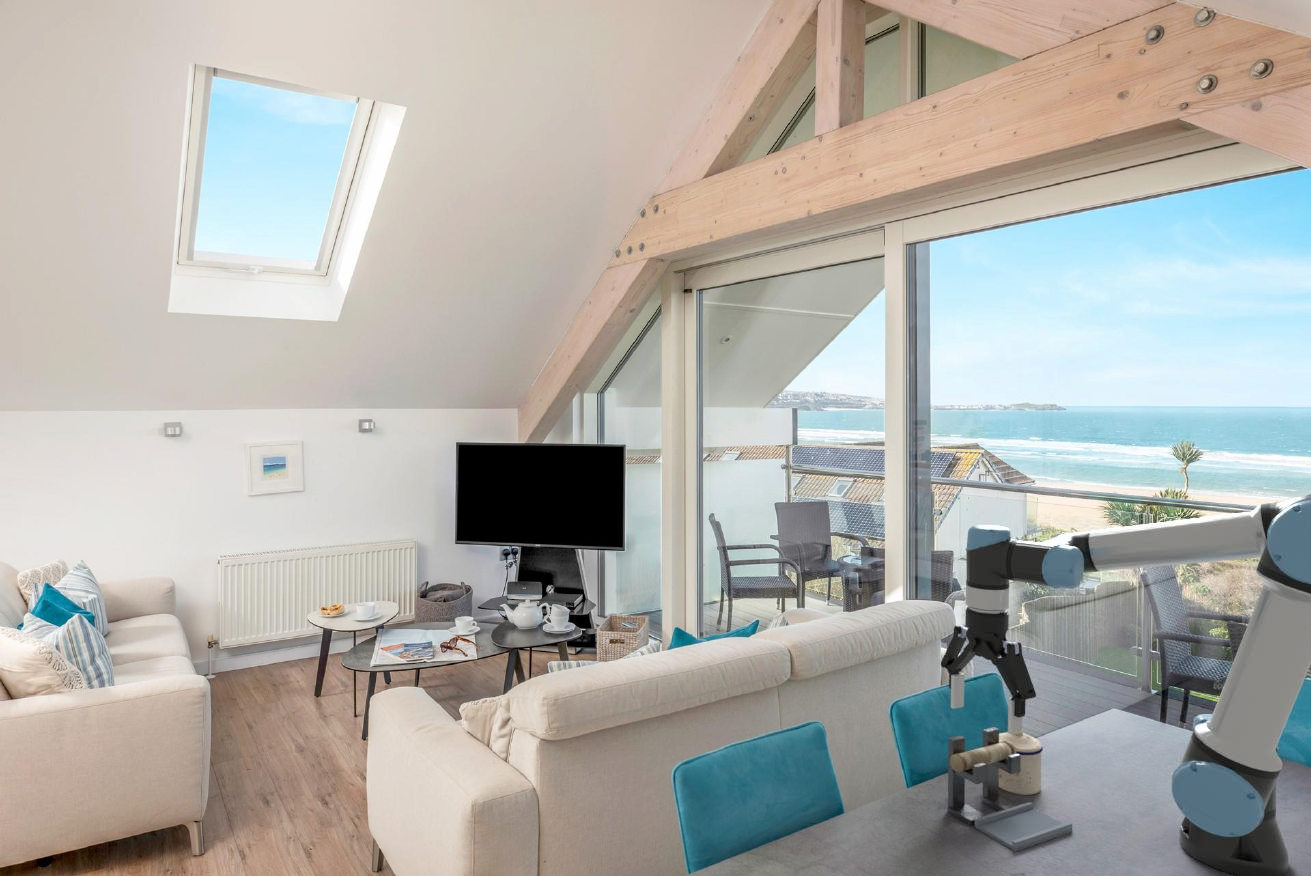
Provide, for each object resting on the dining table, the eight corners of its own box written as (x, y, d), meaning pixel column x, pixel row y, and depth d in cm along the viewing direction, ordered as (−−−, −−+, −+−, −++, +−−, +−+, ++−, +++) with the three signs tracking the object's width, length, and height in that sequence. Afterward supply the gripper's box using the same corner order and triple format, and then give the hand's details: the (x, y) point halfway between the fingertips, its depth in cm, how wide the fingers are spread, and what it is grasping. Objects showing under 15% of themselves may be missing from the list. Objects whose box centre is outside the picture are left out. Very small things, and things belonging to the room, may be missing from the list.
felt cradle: (1072, 831, 146) (1072, 823, 146) (1015, 851, 140) (1015, 842, 140) (1029, 809, 154) (1030, 801, 154) (974, 827, 148) (974, 819, 148)
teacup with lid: (1021, 773, 170) (1022, 718, 169) (1052, 793, 161) (1053, 735, 160) (971, 779, 167) (971, 724, 166) (1000, 800, 158) (1000, 741, 158)
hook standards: (1023, 811, 154) (1023, 738, 153) (972, 827, 148) (973, 751, 148) (995, 796, 160) (995, 726, 159) (946, 811, 154) (946, 738, 154)
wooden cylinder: (1006, 758, 158) (1000, 741, 159) (1018, 756, 155) (1012, 739, 156) (953, 772, 152) (947, 755, 153) (964, 771, 149) (958, 753, 150)
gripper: (1059, 622, 143) (1056, 740, 144) (951, 591, 165) (949, 694, 166) (1029, 627, 139) (1026, 748, 140) (923, 595, 162) (921, 700, 163)
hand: (984, 719), depth 153 cm, fingers open, 13 cm apart
